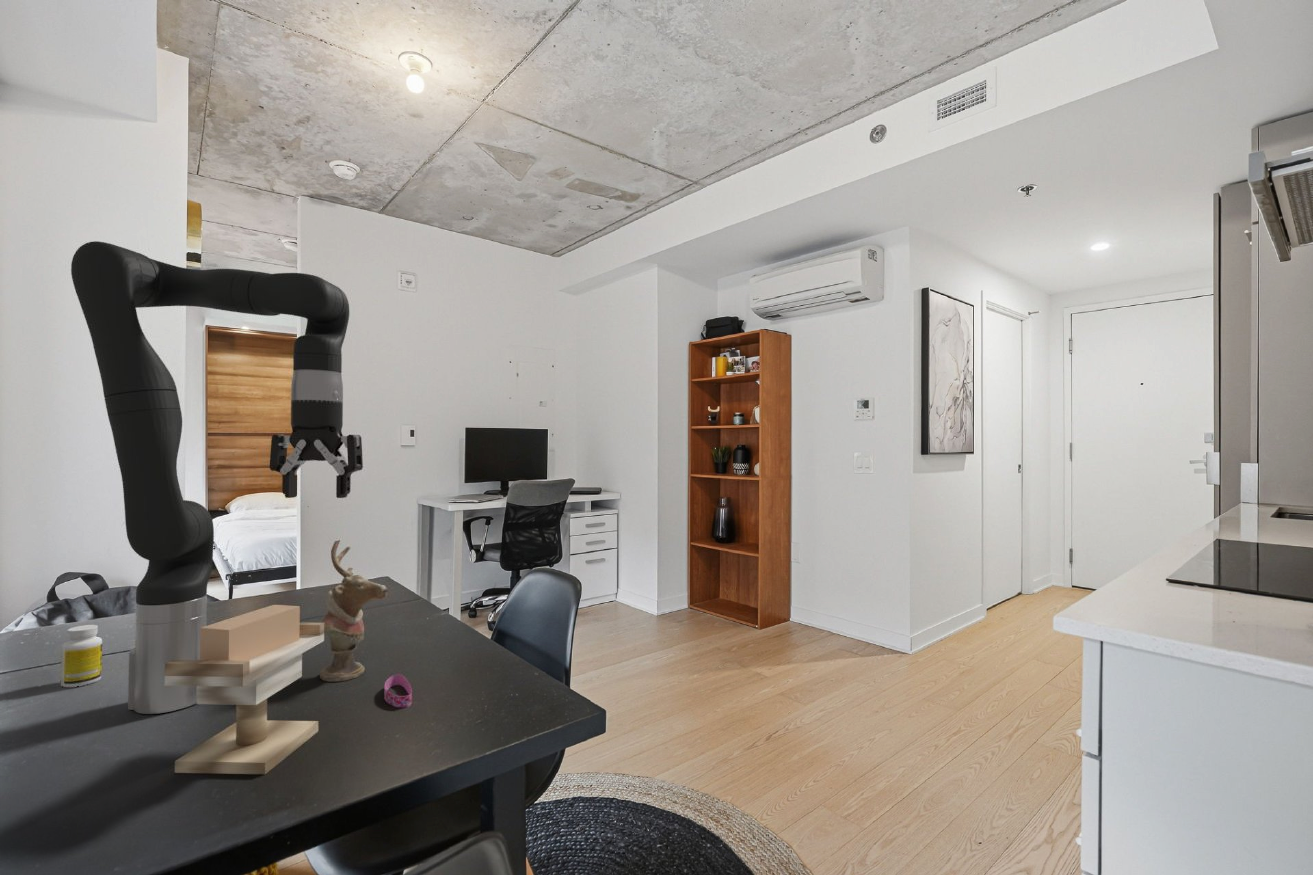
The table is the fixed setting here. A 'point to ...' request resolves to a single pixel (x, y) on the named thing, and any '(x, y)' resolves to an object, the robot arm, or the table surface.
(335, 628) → the decorative bust
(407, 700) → the headband
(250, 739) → the display stand
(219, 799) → the table surface
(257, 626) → the tan block
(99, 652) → the supplement bottle
